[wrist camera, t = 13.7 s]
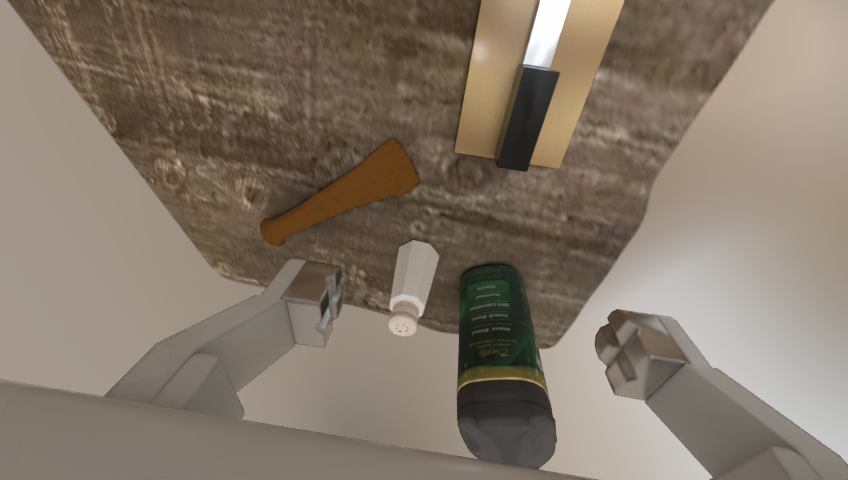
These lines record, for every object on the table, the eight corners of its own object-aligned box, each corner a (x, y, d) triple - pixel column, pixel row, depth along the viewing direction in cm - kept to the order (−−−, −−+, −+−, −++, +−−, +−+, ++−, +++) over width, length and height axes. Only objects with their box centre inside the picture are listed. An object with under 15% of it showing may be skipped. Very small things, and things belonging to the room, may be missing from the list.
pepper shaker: (435, 236, 35) (424, 305, 26) (443, 272, 38) (436, 345, 29) (391, 241, 36) (365, 309, 27) (402, 276, 39) (382, 347, 30)
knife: (574, -149, 18) (592, -183, 15) (617, -143, 18) (644, -176, 15) (493, 155, 28) (496, 167, 25) (521, 159, 28) (527, 172, 25)
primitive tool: (395, 135, 29) (387, 146, 26) (424, 182, 31) (420, 197, 28) (265, 215, 36) (248, 230, 33) (297, 248, 38) (283, 265, 36)
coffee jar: (453, 266, 37) (444, 426, 22) (519, 257, 35) (561, 425, 20) (468, 320, 42) (470, 481, 27) (527, 314, 40) (566, 484, 25)
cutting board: (513, -181, 18) (515, -189, 17) (682, -160, 18) (690, -168, 17) (454, 150, 29) (454, 152, 28) (557, 166, 29) (559, 169, 28)
